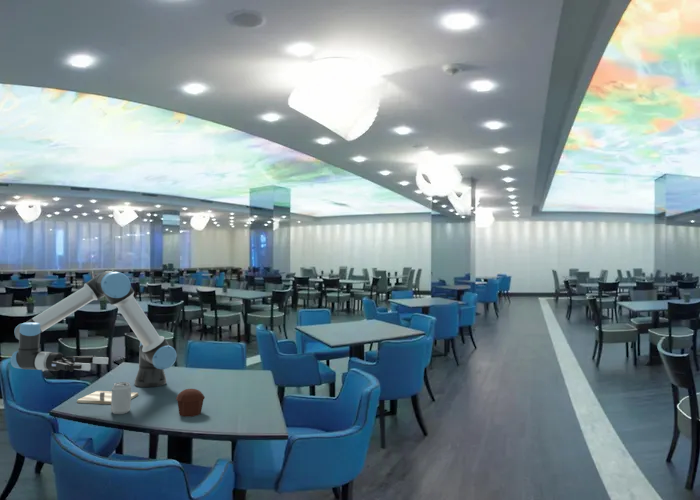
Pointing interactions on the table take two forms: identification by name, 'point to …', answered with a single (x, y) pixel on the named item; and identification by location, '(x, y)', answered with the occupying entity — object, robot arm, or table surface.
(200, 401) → the muffin
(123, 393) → the can
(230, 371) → the table surface
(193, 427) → the table surface
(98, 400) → the pin base
